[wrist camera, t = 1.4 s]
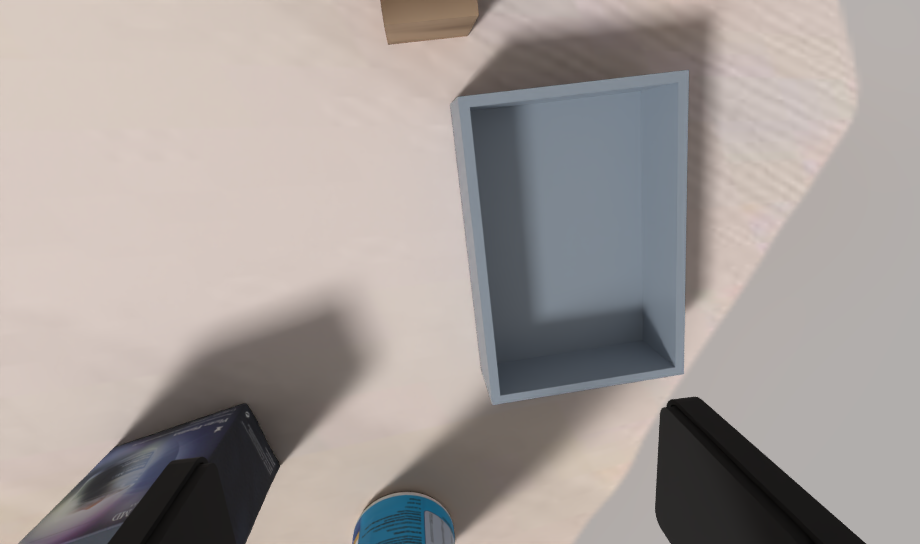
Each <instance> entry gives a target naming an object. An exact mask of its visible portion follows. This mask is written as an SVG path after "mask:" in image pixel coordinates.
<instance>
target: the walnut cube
mask: <svg viewBox="0 0 920 544" xmlns="http://www.w3.org/2000/svg"><path fill="white" fill-rule="evenodd" d="M380 1H381V8H382V15H383V21H384V27H385V32H386V37H387V42H388V45H389V44H398V43H408V42H417V41H426V40H435V39H444V38H454V37H463V36H468V34H469V32H470V31H471V29H472V27H473V25H474V23H475V21H476V20H477V18H478V16H479V12H478V1H477V0H380Z"/></svg>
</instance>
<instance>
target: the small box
mask: <svg viewBox="0 0 920 544" xmlns="http://www.w3.org/2000/svg"><path fill="white" fill-rule="evenodd" d="M194 457H205V458H206V459H207V460H208V463H215V464H216V466H217V468H218V472H219V476H220V480H221V484H222V488H223V492H224V496H225V500H226V504H227V508H228V512H229V516H230V520H231V524H232V528H233V532H234V536H235V540H236V544H245V543H246V541H247V539H248V536H249V534H250V532H251V530H252V527H253V525H254V523H255V520H256V518H257V515H258V513H259V511H260V509H261V506H262V504H263V502H264V500H265V497H266V495H267V492H268V490H269V488H270V486H271V484H272V482H273V480H274V478H275V476H276V473H277V472H278V470H279V468H280V465H279V462H278V460H277V459H276V457H275V456H274V454H273V451H272V450H271V449H270V447H269V445H268V443H267V441H266V439H265V437H264V435H263V433H262V431H261V429H260V427H259V425H258V421H257V420H256V418H255V417H254V415H253V413H252V412H251V410H250V408H249V407H248V405H247V404H241V405H238V406H235V407H233V408H230V409H227V410H224V411H221V412H218V413H215V414H212V415H209V416H206V417H203V418H200V419H197V420H194V421H191V422H188V423H185V424H182V425H179V426H176V427H173V428H170V429H167V430H164V431H162V432H158V433H156V434H153V435H150V436H147V437H144V438H141V439H138V440H135V441H132V442H129V443H126V444H123V445H120V446H117V447H114V448H113V449H112V450H111V451H110V452H109V453H108V454H107V455H106V456H105V457H104V458H103V459H102V460H101V461H100V462H99V463H98V464H97V465H96V466H95V467H94V468H93V469H92V470H91V471H90V472H89V473H88V475H87V476H86V477H85V478H84V479H83V480H81V481H80V482H79V483H78V484H77V485H76V486H75V487H74V488H73V489H72V490H71V491H70V493H69V494H68V495H67V496H66V497H65V498H64V499H63V500H62V501H61V502H60V503H59V504H58V505H57V506H56V507H55V508H54V509H53V510H52V511H51V512H50V513H49V514H48V515H47V516H45V517H44V518H43V519H42V520H41V522H40V523H39V524H38V525H37V526H36V527H35V528H34V529H32V530H31V531H30V532H29V533H28V534H27V535H26V536H25V537H24V538H23V539H22V540H21V541H20V542H19V543H18V544H108V542H109V541H110V540H111V538H112V537H113V536H114V534H115V533H116V532H117V530H118V529H119V528H120V526H121V525H122V524H123V523H124V521H125V520H126V519H127V517H128V516H129V515H130V513H131V512H132V511H133V509H134V508H135V507H136V505H137V504H138V503H139V502H140V500H141V499H142V498H143V496H144V495H145V494H146V492H147V491H148V490H149V488H150V487H151V486H152V484H153V483H154V482H155V481H156V479H157V478H158V477H159V475H160V474H161V473H162V471H163V470H164V469H165V467H166V466H167V465H168V464H169V463H170V462H171V461H173V460H178V459H186V458H194Z"/></svg>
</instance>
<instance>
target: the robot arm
mask: <svg viewBox="0 0 920 544" xmlns="http://www.w3.org/2000/svg"><path fill="white" fill-rule="evenodd" d="M658 445H659V446H658V464H657V483H656V503H655V513H656V517H657V521H658V523H659V526H660V528H661V529H662V531H663V532H664V534H665V536H666V537H667V538H668V540H669V542H670V543H671V544H866V543H865V542H863V541H862V540H861V539H860V538H859V537H858V536H857V535H856V534H854V533H853V532H852V531H851V530H850V529H848V527H846V526H845V525H844V524H843V523H842V522H841V521H840V520H838V519H837V518H836V517H835V516H834V515H833V514H832V513H830V512H829V511H828V510H827V509H826V508H825V507H824V506H822V505H821V504H820V503H819V502H818V501H817V500H815V499H814V498H813V497H812V496H811V495H810V494H809V493H807V492H806V491H805V490H804V489H803V488H802V487H801V486H800V485H798V484H797V483H796V482H795V481H794V480H793V479H792V478H790V477H789V476H788V475H787V474H786V473H785V472H783V471H782V470H781V469H780V468H779V467H778V466H777V465H776V464H774V463H773V462H772V461H771V460H770V459H769V458H768V457H766V456H765V455H764V454H763V453H762V452H761V451H759V449H757V448H756V447H755V446H754V445H753V444H752V443H751V442H749V441H748V440H747V439H746V438H745V437H744V436H743V435H741V434H740V433H739V432H738V431H737V430H736V429H735V428H733V427H732V426H731V425H730V424H729V423H728V422H727V421H725V420H724V419H723V418H722V417H721V416H720V415H719V414H717V413H716V412H715V411H714V410H713V409H712V408H711V407H709V406H708V405H707V404H706V403H705V402H704V401H703V400H701V399H700V398H698V397H688V398H680V399H672V400H670V401H668V403H667V407H664V408H662V409H661V412H660V425H659V444H658ZM108 544H236V540H235V536H234V532H233V528H232V524H231V520H230V516H229V512H228V508H227V504H226V500H225V496H224V492H223V488H222V484H221V480H220V476H219V472H218V468H217V466H216V464H215V463H208V460H207V459H206V458H205V457H194V458H186V459H178V460H173V461H171V462H170V463H169V464H168V465H167V466H166V467H165V469H164V470H163V471H162V473H161V474H160V475H159V477H158V478H157V479H156V481H155V482H154V483H153V484H152V486H151V487H150V488H149V490H148V491H147V492H146V494H145V495H144V496H143V498H142V499H141V500H140V502H139V503H138V504H137V505H136V507H135V508H134V509H133V511H132V512H131V513H130V515H129V516H128V517H127V519H126V520H125V521H124V523H123V524H122V525H121V526H120V528H119V529H118V530H117V532H116V533H115V534H114V536H113V537H112V538H111V540H110V541H109V542H108Z"/></svg>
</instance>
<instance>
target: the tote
mask: <svg viewBox="0 0 920 544" xmlns="http://www.w3.org/2000/svg"><path fill="white" fill-rule="evenodd" d="M688 91H689V70H683V71H674V72H666V73H657V74H649V75H640V76H631V77H623V78H614V79H606V80H597V81H589V82H580V83H572V84H563V85H555V86H546V87H538V88H529V89H521V90H512V91H503V92H495V93H486V94H478V95H469V96H461V97H457V98H456V99H455V100H454V101H453V102H452V103H451V104H450V108H451V117H452V125H453V134H454V142H455V151H456V159H457V168H458V176H459V185H460V194H461V202H462V211H463V219H464V228H465V236H466V245H467V253H468V262H469V270H470V279H471V287H472V296H473V304H474V313H475V322H476V330H477V339H478V347H479V356H480V364H481V371H482V374H483V377H484V380H485V384H486V387H487V390H488V393H489V396H490V400H491V403H492V405H497V404H503V403H509V402H515V401H521V400H527V399H533V398H540V397H546V396H552V395H558V394H564V393H570V392H576V391H583V390H589V389H595V388H601V387H607V386H613V385H619V384H625V383H632V382H638V381H644V380H650V379H656V378H662V377H668V376H674V375H681V374H684V330H685V270H686V210H687V151H688Z"/></svg>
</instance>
